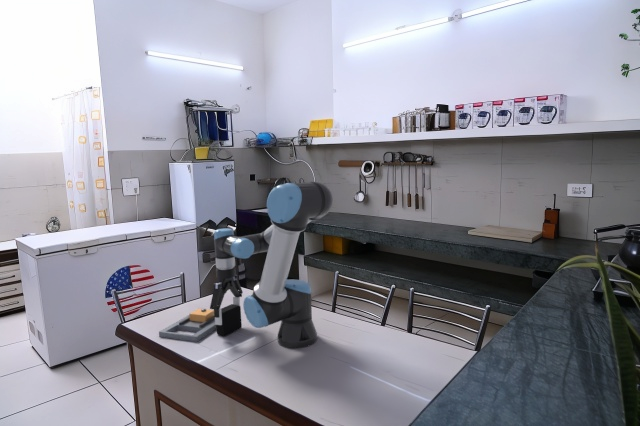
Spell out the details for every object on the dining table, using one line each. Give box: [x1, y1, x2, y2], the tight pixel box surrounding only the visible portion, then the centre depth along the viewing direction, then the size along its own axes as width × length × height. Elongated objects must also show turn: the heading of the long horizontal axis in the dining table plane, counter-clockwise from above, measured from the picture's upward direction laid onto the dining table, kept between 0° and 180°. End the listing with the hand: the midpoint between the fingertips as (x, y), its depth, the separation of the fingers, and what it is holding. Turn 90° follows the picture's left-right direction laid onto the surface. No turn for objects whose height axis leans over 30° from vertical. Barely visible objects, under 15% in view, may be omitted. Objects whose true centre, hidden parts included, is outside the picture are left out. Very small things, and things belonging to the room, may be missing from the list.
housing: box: [158, 314, 217, 343], centre depth 170 cm, size 18×19×3 cm
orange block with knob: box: [188, 308, 214, 322], centre depth 176 cm, size 8×6×4 cm
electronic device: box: [216, 303, 242, 337], centre depth 166 cm, size 4×10×10 cm, turn 148°
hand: (228, 318), depth 166 cm, fingers open, 13 cm apart
